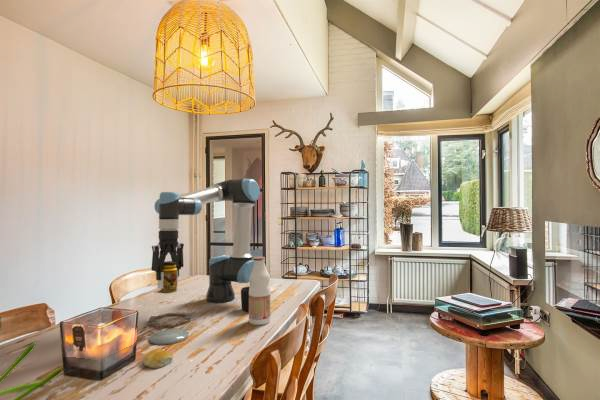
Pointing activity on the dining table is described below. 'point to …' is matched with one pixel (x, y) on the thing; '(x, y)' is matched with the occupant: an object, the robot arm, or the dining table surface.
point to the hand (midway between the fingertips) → (167, 286)
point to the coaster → (168, 336)
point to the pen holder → (245, 299)
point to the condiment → (169, 278)
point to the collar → (152, 323)
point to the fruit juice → (259, 293)
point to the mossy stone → (158, 358)
